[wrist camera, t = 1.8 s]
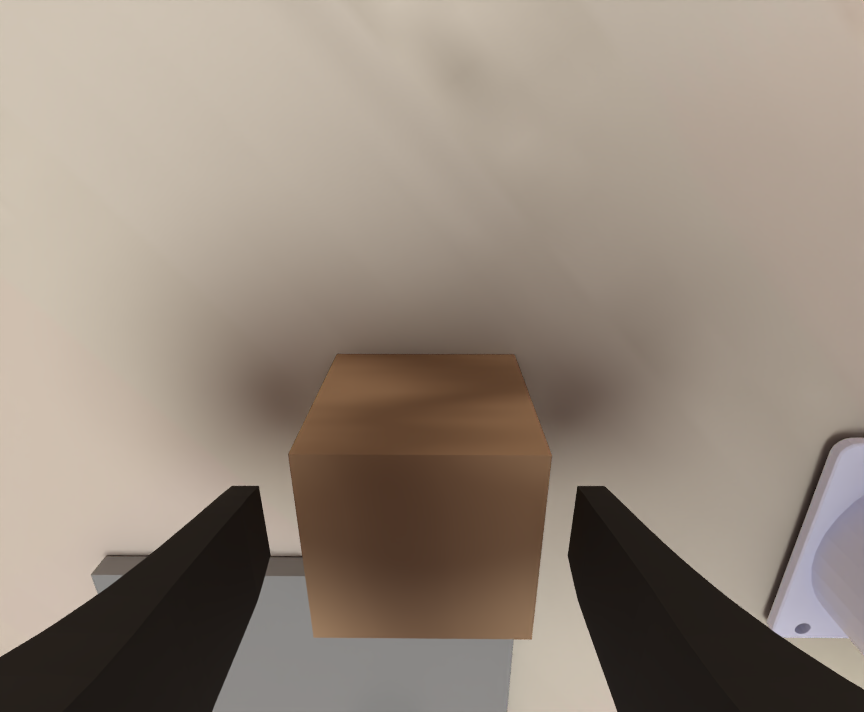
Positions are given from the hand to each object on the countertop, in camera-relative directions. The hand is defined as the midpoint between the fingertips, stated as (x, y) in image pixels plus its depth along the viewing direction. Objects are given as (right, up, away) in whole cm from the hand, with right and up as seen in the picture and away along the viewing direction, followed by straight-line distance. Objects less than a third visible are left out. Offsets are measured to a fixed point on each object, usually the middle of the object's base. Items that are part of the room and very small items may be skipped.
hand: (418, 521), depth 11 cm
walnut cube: (0, +2, +4) cm, 4 cm away
